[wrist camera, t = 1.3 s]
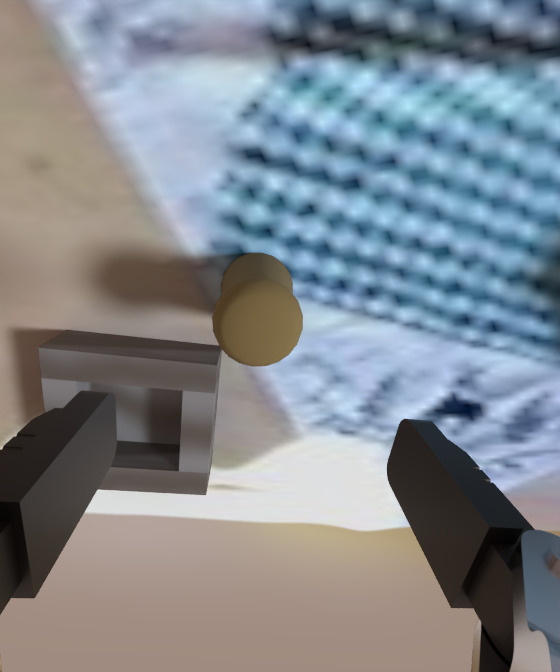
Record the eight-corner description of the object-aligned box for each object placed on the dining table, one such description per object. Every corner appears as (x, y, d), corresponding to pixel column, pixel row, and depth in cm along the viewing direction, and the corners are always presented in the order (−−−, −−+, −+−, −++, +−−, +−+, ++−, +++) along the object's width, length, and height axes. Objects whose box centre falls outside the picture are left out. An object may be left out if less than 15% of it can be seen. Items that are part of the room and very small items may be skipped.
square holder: (67, 330, 28) (37, 347, 24) (222, 346, 29) (217, 365, 26) (76, 455, 32) (53, 486, 28) (211, 463, 34) (205, 495, 30)
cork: (304, 303, 29) (332, 352, 18) (243, 334, 29) (237, 399, 19) (272, 238, 27) (282, 253, 16) (207, 274, 27) (177, 310, 17)
